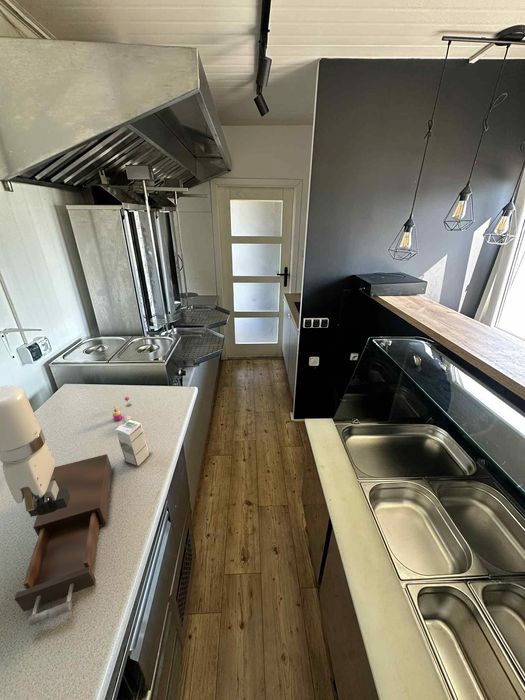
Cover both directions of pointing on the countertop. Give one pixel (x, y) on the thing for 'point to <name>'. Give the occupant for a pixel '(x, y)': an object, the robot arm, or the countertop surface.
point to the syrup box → (132, 442)
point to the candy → (118, 415)
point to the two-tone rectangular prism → (55, 497)
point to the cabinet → (81, 490)
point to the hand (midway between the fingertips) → (50, 504)
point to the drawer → (60, 565)
